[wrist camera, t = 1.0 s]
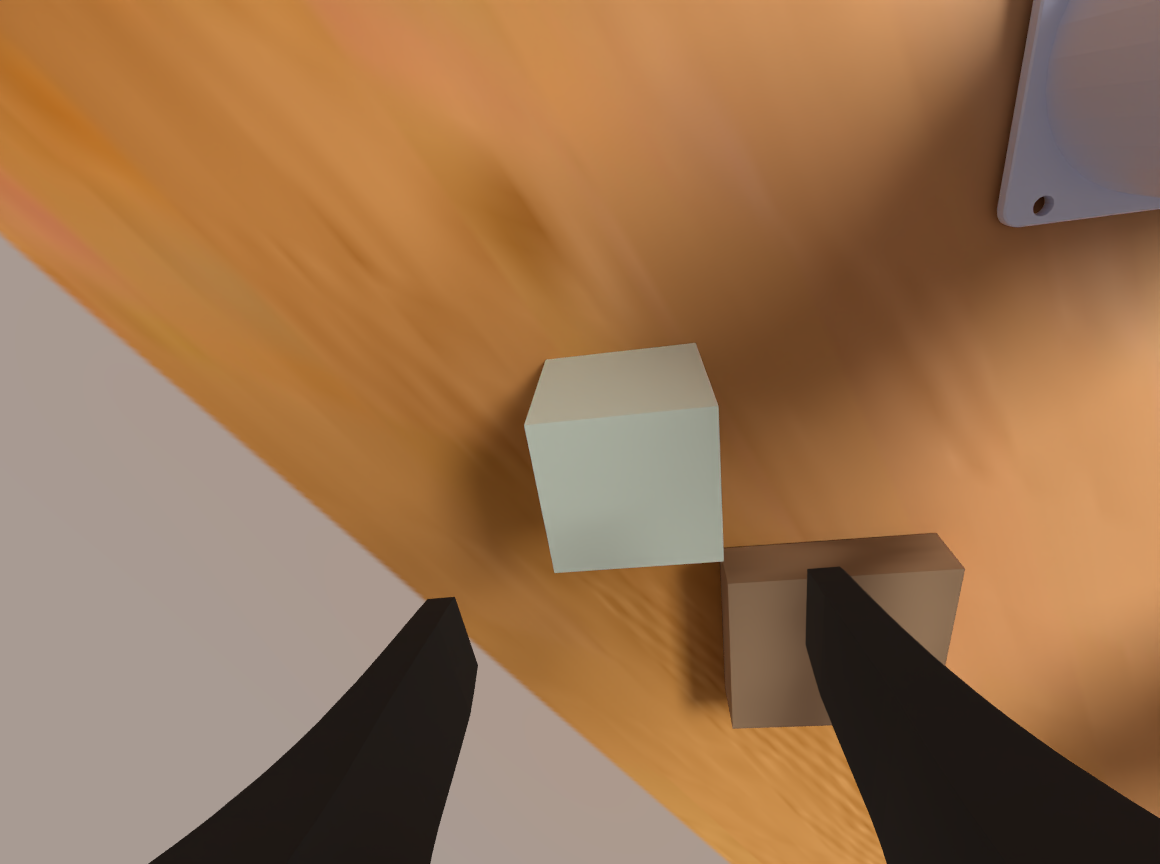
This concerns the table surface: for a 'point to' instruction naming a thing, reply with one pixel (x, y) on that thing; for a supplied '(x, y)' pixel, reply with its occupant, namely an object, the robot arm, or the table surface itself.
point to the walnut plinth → (778, 615)
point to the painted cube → (628, 459)
